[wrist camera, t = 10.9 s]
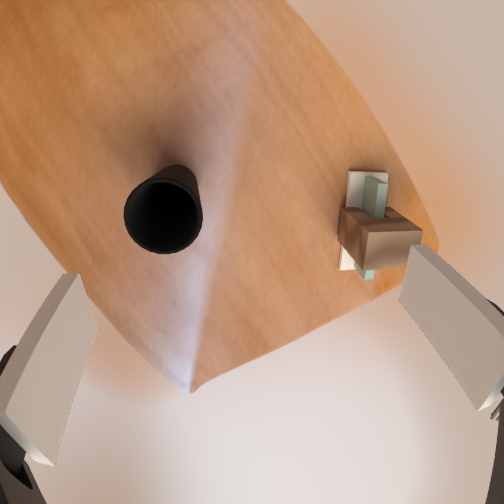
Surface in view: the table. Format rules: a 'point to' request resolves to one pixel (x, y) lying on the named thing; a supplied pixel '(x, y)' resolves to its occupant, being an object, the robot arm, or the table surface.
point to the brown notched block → (377, 238)
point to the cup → (165, 211)
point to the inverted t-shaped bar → (364, 206)
